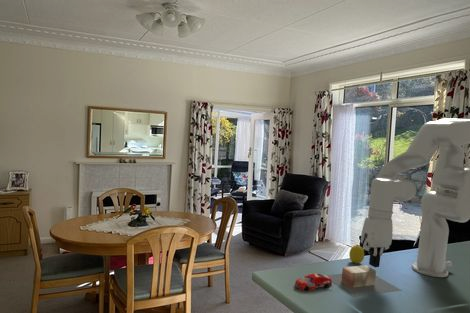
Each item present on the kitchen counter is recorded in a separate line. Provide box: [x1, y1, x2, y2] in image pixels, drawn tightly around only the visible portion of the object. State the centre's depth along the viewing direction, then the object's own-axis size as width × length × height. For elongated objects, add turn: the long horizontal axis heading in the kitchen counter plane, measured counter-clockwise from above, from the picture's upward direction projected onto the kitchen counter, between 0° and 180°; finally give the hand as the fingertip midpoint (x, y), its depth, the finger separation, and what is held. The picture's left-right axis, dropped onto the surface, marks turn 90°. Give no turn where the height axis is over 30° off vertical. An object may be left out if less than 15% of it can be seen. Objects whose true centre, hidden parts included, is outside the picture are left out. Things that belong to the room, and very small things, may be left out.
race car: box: [294, 273, 333, 292], centre depth 120 cm, size 13×5×4 cm, turn 112°
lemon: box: [348, 244, 365, 265], centre depth 143 cm, size 6×6×8 cm
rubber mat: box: [326, 273, 402, 298], centre depth 125 cm, size 20×16×1 cm
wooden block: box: [341, 264, 377, 288], centre depth 124 cm, size 5×5×10 cm
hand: (373, 265), depth 126 cm, fingers closed
